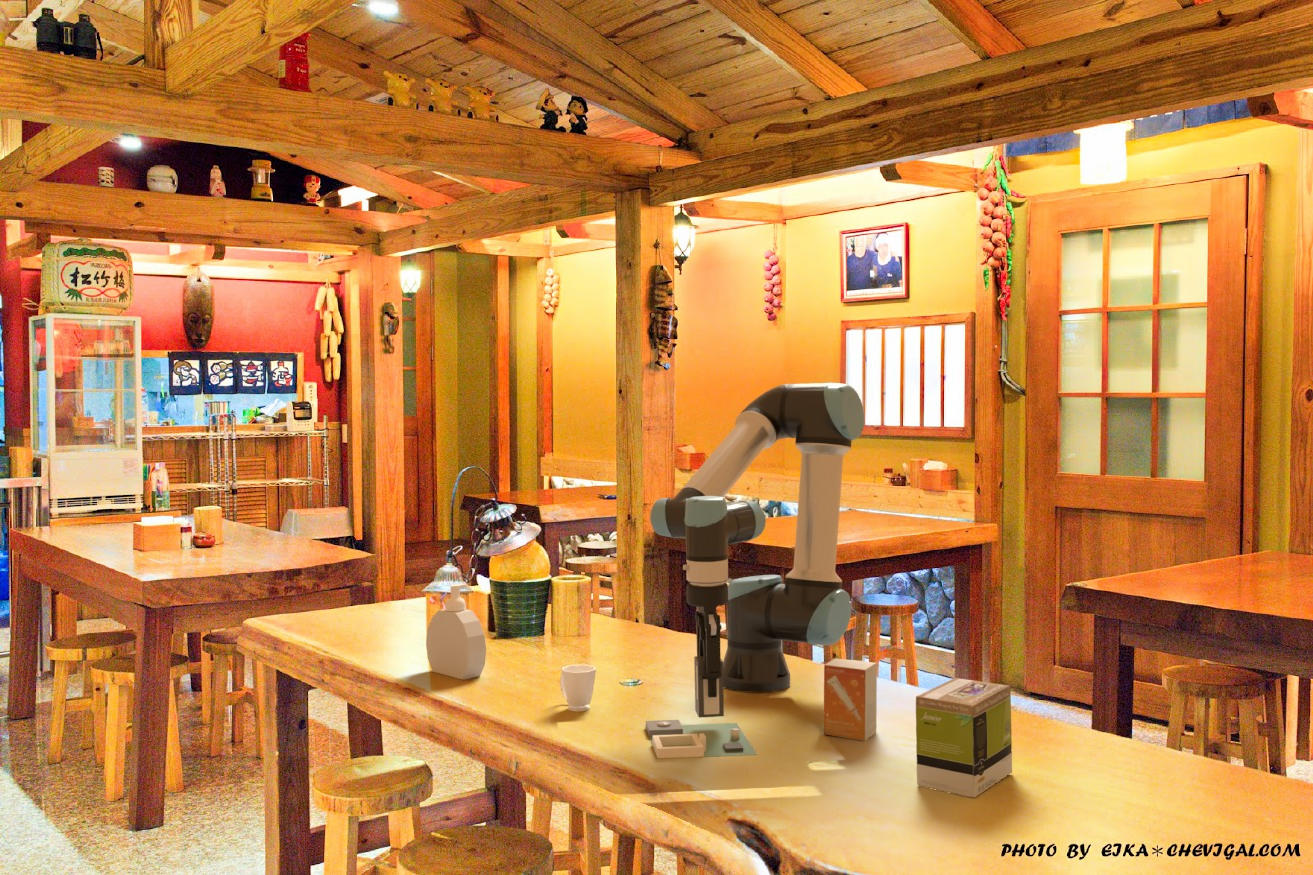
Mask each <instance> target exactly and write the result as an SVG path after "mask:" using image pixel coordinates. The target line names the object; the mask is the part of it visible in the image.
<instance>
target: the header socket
mask: <svg viewBox="0 0 1313 875" xmlns="http://www.w3.org/2000/svg"><path fill="white" fill-rule="evenodd" d="M652 745H653V746H652ZM672 745H692V746H674V747H663V746H672ZM651 746H652V748H653V747H654V749H653V751H654V750H655V752H654V754H655V753H656V755H657V757H656V759H657V758H669V759H683V758H682V757H693V758H705V757H704V752H706V737H705V735H704V733H702V734H699V737H698V735H697V734H675V735H652V744H651ZM656 755H655V756H656Z"/></svg>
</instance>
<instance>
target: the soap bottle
mask: <svg viewBox="0 0 1313 875" xmlns="http://www.w3.org/2000/svg"><path fill="white" fill-rule="evenodd" d="M466 587H467V583H459V584H458V583H457V584H451V585H450V597H449V598H447V599H446V600H445V608H443V609H438V610H437V611H436V612H435V613H434V614H433V615H432V616H431V619H430V621H429V625H428V627H427V629H426V630H427V632H426V643H425V644H426V645H425V646H426V653H427V659H428V663H429V666H430V668H431V671H432V673H435V674H440V675H444V676H447V677H451V678H453V679H456V680H457V679H458V680H462V681H465V680H469V679H474V678H478V677H481V675H482V672H483V670H484V667H485V665H486V659H487V657H486V656H487V642H486V635H485V632H484V630H483V627H482V624H481V620H480V619H479V617H477V615H476V614H475V613H474V611H473V610H471V609H467V608H466V607H467V606H466V601H465V599H464V598H463V597H461V590H460V589H464V588H466Z"/></svg>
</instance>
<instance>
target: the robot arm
mask: <svg viewBox="0 0 1313 875" xmlns="http://www.w3.org/2000/svg"><path fill="white" fill-rule="evenodd" d="M864 427H865V412H864V406H863V403H862V399H861V398H860V395H859V393H858V392H857V391H856V390H855V388H854V387H853V386H851V385H849V384H846V383H838V382H819V383H818V382H817V383H816V382H812V383H784V384H779V385H778V386H775V387H773V388H770V389H769V390H766V391H764V393H762V394H760V395H759V396H758V397H756V398H755V399H754V400H753V401H751V402H750V403H749V404H748V405H747V406H746V407H745V408H743V410H742V411H741V412H740V413H739V414H738V416H737V417H736V418H735V422H734V427H733V428H732V430H731V431H730V432H729V433H728V434H727V435H726V437H724V439H723V440H722V441H721V442H720V443H719V445H718V446H717V447H716V448H715V450H714V451H713V452H712V453H711V454H710V455H709V456H708V458H706V460H705V461H704V462H703V463H702V464H701V466H700V467H699V468H698V469H697V470H696V471H695V472H694V474H693V475H692V476H691V477H690V478H689V480H688V481H687V482H686V483H685V484H684V485H683V487H682V488H681V489H679V490H680V491H678V492H677V494H676V495H675V496H674V497H673V498H671V497H666V498H665V497H662V498H658V499H657V500H656V501H655V502H654V503H653V505H652V507H651V510H650V513H649V514H650V516H649V519H650V520H649V521H650V526H651V527H652V530H653V532H655V533H656V534H657V535H659V536H661V537H667V538H668V537H669V538H672V539H685V551H686V553H685V554H686V555H685V559H686V561H685V562H686V564H683V566H682V569H683V570H684V571H686V574H685V575H686V581H688V583H687V584H686V603H687V605H689V606H692V607H697V608H698V609H696V610H695V612H694V615H695V617H694V618H695V625H696V626H695V628H696V656H704V672H705V675H704V676H701V680H702V679H703V688H704V715H708V714H719V678H721V659H722V657H721V629H722V625H721V616H720V614H718V611H717V608H718V607H719V606H720V607H722V606H725V605H726V614H727V615H726V619H727V620H726V621H727V623H726V626H727V627H726V628H727V630H726V631H727V632H726V633H727V635H726V636H727V647H726V648H727V649H726V652H725V654H724V657H723V660H722V661H723V689H724V688H725V689H727V690H730V691H731V690H732V691H735V692H742V693H743V692H745V693H769V692H778V691H783V690H785V689H787V688H788V687H790V686H791V673H790V670H789V666H788V663H787V661H786V657H785V654H784V651H783V641H788V642H796V643H804V644H809V645H811V646H817V645H818V646H833V645H834V644H836V643H837V642H839V641H840V640H842V637H843V636H844V634H845V633H846V631H847V629H848V627H849V624H850V620H851V616H852V610H853V609H852V607H853V606H852V600H851V597H850V594H849V593H848V592H847V591H846V590H844V589H842V586H843V580H842V579H841V577H840V576H839V575H838V574H837V572H836V566H837V564H836V563H837V552H838V551H837V549H838V538H839V536H838V534H839V520H840V508H841V506H840V505H841V492H842V478H843V464H844V457H845V455H847V454H848V453H849V452H850V451H851V450H852V443H853V441H855V440H857V439H858V438H860V437H861V435H862V432H863V430H864ZM787 438H788V439H795V442H794V443H795V444H794V445H795V446H794V447H795V448H797V450H799V452H800V453H801V454H800V455H801V460H800V474H799V475H800V477H799V487H798V489H799V491H798V502H797V514H796V515H797V516H796V531H795V543H794V556H793V557H794V558H793V568H792V570H790V571H789V572H788V573H787V574H785V581H784V580H783V578H782V576H781V575H780V574H779V575H778V574H763V575H753V576H746V577H745V576H744V577H739V578H735V579H733V580H731V581H730V582H729V583H728V584H727V581H728V580H729V558H728V546H729V545H734V544H740V543H744V542H745V543H748V542H750V541H751V540H755V539H756V538H758V537H759V536H761V535H762V533H763V532H764V531H765V527H766V522H767V521H766V520H767V518H766V515H765V511H764V509H763V508H762V506H760V505H759V504H758V503H757V502H755V501H754V500H753V501H752V500H737V501H727V500H726V499H725V496H726V495H727V494H728V493H729V492H730V490H731V489H732V488H733V486H734V485H735V484H736V483H737V482H738V480H740V478H741V477H742V476H743V474H744V473H745V472H746V471H747V469H748V468H749V467H750V466H751V465H752V463H753V462H754V461H755V460H756V459H757V457H758V456H759V455H760V453H762V452H763V450H767V449H769V448H772V447H773V445H774V444H775V443H776V442H777V441H780V440H782V439H783V440H784V439H787ZM783 581H784V582H783Z"/></svg>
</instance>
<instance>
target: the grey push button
mask: <svg viewBox="0 0 1313 875" xmlns="http://www.w3.org/2000/svg"><path fill="white" fill-rule="evenodd" d="M681 725H682V724H681V722H680V720H679V719H660V720H645V726H646V727H645V730H646V732H647V735H649V736H648V738H649V739H650V738H652V735H675V734H683V728H682V726H681Z"/></svg>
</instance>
